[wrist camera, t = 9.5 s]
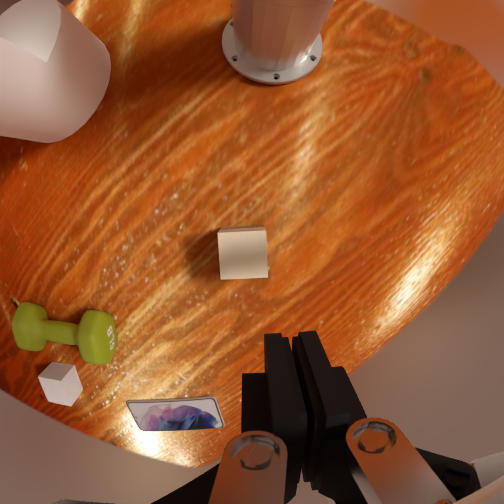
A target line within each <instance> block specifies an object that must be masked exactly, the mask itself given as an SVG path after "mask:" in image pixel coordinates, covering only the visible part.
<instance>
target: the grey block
mask: <svg viewBox="0 0 504 504" xmlns="http://www.w3.org/2000/svg"><path fill="white" fill-rule="evenodd" d="M38 378H39V381H40V383H41V386H42V388H43V390H44V393H45V395H46V397H47V399H48V401H50V402H54V403H58V404H63V405H67V406H72V405H73V403H74V402H75V400H76V399H77V398H78V396H79V395H80V393H81V392H82V391H83V388H82V385H81V383H80V380H79V377H78V374H77V371H76V368H75V365H70V364H63V363H56V362H51V363H50V364H49V365H48V366H47V368H46V369H45V370H44V371H43V372H42V373H41V374H40V375H39V376H38Z"/></svg>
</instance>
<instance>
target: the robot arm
mask: <svg viewBox="0 0 504 504" xmlns="http://www.w3.org/2000/svg"><path fill="white" fill-rule="evenodd" d="M231 2H232V16H233V17H232V18H231V19H230V20H229V22H228V23H227V25H226V26H225V28H224V31H223V34H222V48H223V52H224V56H225V57H226V59H227V61H228V63H229V64H230V65H231V66H232V67H233V69H234V70H236V71H237V72H238V73H240V74H241V75H242V76H244V77H246V78H248V79H250V80H253V81H256V82H259V83H264V84H274V85H280V84H288V83H291V82H295V81H298V80H300V79H301V78H303V77H305V76H307V75H308V74H309V73H310V72H312V70H313V69H314V68H315V67H316V65H317V64H318V62H319V60H320V58H321V55H322V48H323V44H322V38H321V35H320V33H319V32H320V30H321V28H322V26H323V24H324V22H325V20H326V18H327V16H328V14H329V12H330V10H331V8H332V6H333V4H334V2H335V0H231ZM234 60H237V61H234ZM311 60H313V61H311ZM275 77H276V78H277V80H276V79H274V78H275ZM264 356H265V373H243V374H242V419H241V433H240V434H238V435H236V436H234V437H233V438H232V439H231V440H230V441H228V442H227V444H226V446H225V448H224V451H223V454H222V458H221V461H220V463H219V464H217V465H216V466H214V467H213V468H211V469H210V470H208V471H207V472H205V473H204V474H202V475H200V476H199V477H197V478H195V479H194V480H192V481H190V482H189V483H187V484H186V485H184V486H182V487H180V488H178V489H177V490H175V491H173V492H171V493H170V494H168V495H166V496H164V497H162V498H161V499H159V500H157V501H155V502H153V503H151V504H287V503H288V502H289V501H290V500H291V499H292V498H293V497H294V496H295V495H296V489H297V483H299V480H300V474H301V469H302V474H303V480H304V482H310V483H311V488H312V490H318V492H319V493H321V494H323V495H324V496H326V497H328V503H329V504H504V451H503V452H500V453H497V454H493V455H490V456H486V457H483V458H479V459H475V460H472V462H471V463H470V464H468V463H466V462H463V461H460V460H456V459H453V458H449V457H445V456H442V455H438V454H435V453H431V452H428V451H425V450H422V449H419V448H416V447H414V446H413V445H412V444H411V442H410V441H409V440H408V439H407V437H406V436H405V435H404V433H403V432H402V431H401V430H400V428H399V427H398V426H396V425H395V424H394V423H393V422H391V421H389V420H387V419H383V418H378V417H377V418H376V417H370V418H367V416H366V414H365V411H364V409H363V407H362V405H361V403H360V401H359V399H358V397H357V394H356V392H355V390H354V388H353V386H352V384H351V382H350V380H349V377H348V375H347V373H346V371H345V369H344V368H343V367H342V366H339V367H331V365H330V362H329V360H328V358H327V355H326V353H325V351H324V348H323V346H322V344H321V341H320V339H319V337H318V334H317V332H316V331H306V332H299V333H298V336H296V337H292V351H291V347H290V343H289V339H288V337H282V334H281V333H274V334H264ZM53 504H113V503H97V502H86V501H77V500H69V499H68V500H59V501H56V502H54V503H53Z"/></svg>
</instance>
